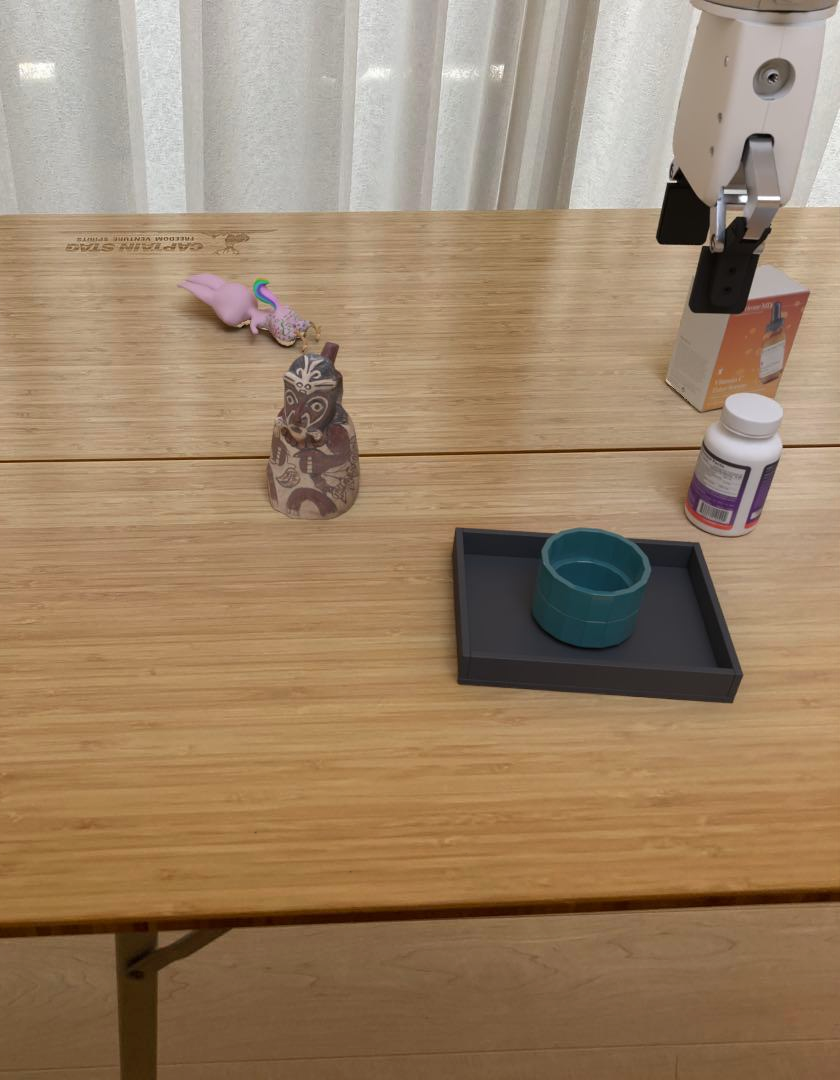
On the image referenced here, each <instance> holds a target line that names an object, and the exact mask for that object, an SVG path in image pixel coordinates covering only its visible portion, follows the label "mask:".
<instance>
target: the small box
mask: <svg viewBox="0 0 840 1080" xmlns="http://www.w3.org/2000/svg"><path fill="white" fill-rule="evenodd" d="M694 278H695V274H692V276H691V281H690V284H689V288H688V292H687V296H686V300H685V304H684V307H683V311H682V314H681V318H680V322H679V326H678V330H677V333H676V336H675V337H676V338H675V342H674V345H673V349H672V353H671V357H670V360H669V364H668V367H667V372H666V375H665V379H667V380H668V381H669V382H670V383H671V385H672V386H673V387H674V388H675V389H676V390H677V391H678V392H679V393H680V394H681V395H682V396H683V397H684V400H686V399H687V400H686V401H687V402H688V401H689V402H690V403H689V402H688V403H689V404H690V405H692V407H694V408H695V409H696V410H697V411H699V412H706V411H712V410H715V409H720V408H723V406H724V403H725V400H726V399H727V398H728V397H729V396H731V395H733V394H737V393H754V394H759V395H762V396H766V397H768V398H771V399H772V398H774V399H775V397H776V395H777V392H778V389H779V385H780V383H781V379H782V377H783V374H784V371H785V368H786V366H787V363H788V359H789V357H790V353H791V351H792V348H793V344H794V341H795V339H796V336H797V333H798V330H799V327H800V324H801V320H802V318H803V315H804V312H805V309H806V307H807V303H808V300H809V297H810V295H811V290H810V289H809V288H807V287H806V286H804V285H803V284H801V283H800V282H798V281H797V280H795V279H794V278H792V277H791V276H789V275H787V274H786V273H785V272H783V271H781V270H779V268H777V267H775V266H773V264H772V265H771V264H770V263H766V264H761V265H758V266H757V268H756V271H755V275H754V279H753V282H752V286H751V290H750V293H749V297H748V300H747V304H746V308H745V310H744V311H743V312H742V313H740V314H707V313H693V312H692V311H691V310H690V308H689V305H688V304H689V299H690V295H691V291H692V287H693V282H694ZM679 393H678V394H679ZM680 394H679V395H680ZM681 395H680V396H681ZM682 396H681V397H682ZM683 397H682V398H683ZM772 400H773V399H772Z"/></svg>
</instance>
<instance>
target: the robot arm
mask: <svg viewBox="0 0 840 1080" xmlns="http://www.w3.org/2000/svg"><path fill="white" fill-rule="evenodd" d="M839 1H840V0H689V3H690V4H691V6H692V7H693V8H695V9H696V10H698V11H701V13H700V16H699V19H698V23H697V24H696V30H695V35H694V39H693V42H692V45H691V49H690V53H689V57H688V62H687V66H686V70H685V73H684V77H683V78H684V79H683V82H682V86H681V91H680V92H681V93H680V95H679V100H678V106H677V110H676V116H675V120H674V126H673V127H674V128H673V135H672V153H673V158H672V161H671V163H670V165H669V170H668V179H669V182H666V186H665V191H664V195H663V200H662V204H661V210H660V214H659V218H658V223H657V228H656V233H655V240H656V241H657V243H658V244H659V245H661V246H698V247H699V246H701V249H700V252H699V257H698V262H697V266H696V271H695V274H694V275H695V278H694V282H693V287H692V291H691V295H690V299H689V304H688V305H689V308H690V310H691V311H692V312H693V313H707V314H740V313H742V312H743V311H744V310H745V308H746V304H747V300H748V297H749V293H750V290H751V286H752V282H753V279H754V275H755V271H756V268H757V267H758V264H759V260H760V257H761V255H762V254H763V252H764V250H765V247H766V240H767V239H768V236H769V235H770V234H771V232H772V230H773V229H772V227H771V226H772V222H773V220H774V218H775V216H776V215H777V213H778V211H779V209H782V208H783V207H785V206H786V205H788V203H789V202H790V201H791V198H792V195H793V192H794V189H795V184H796V181H797V177H798V176H797V175H798V172H799V168H800V164H801V161H802V160H801V159H802V157H803V156H802V155H803V151H804V147H805V142H806V139H807V134H808V130H809V126H810V121H811V117H812V112H813V108H814V103H815V98H816V93H817V89H818V82H819V77H820V72H821V66H822V59H823V54H824V53H823V51H824V44H825V36H826V25H827V22H826V21H825V20H828V19H830V18H832V17H833V16H834V15H835V14H836V11H837V8H838V4H839ZM725 190H728V191H730V190H731V191H732V190H733V191H734V190H736V191H746V193H725ZM727 211H730V212H733V211H734V212H743V215H742V216H741V215H740V216H738V215H737V216H735V218H734V219H733V220H732V221H731V222H730V223H729V224H728V226H727ZM708 235H709V240H708V242H709V243H708V244H709V245H704V244H705V243H706V242H707V239H708Z"/></svg>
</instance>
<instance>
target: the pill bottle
mask: <svg viewBox="0 0 840 1080" xmlns="http://www.w3.org/2000/svg"><path fill="white" fill-rule="evenodd" d="M784 411H785V410H784V408H783V406H781V404H780V403H779V402H777V401H775V400H774V399H770V398H768V397H766V396H762V395H759V394H754V393H737V394H733V395H731V396H729V397H728V398H727V399H726V400H725V403H724V406H723V407H722V409H721V413H720V416H719V419H717V420H715V421H713V422H712V423H710V425H708V427H707V428H706V430H705V433H704V436H703V439H702V441H701V446H700V449H699V453H698V456H697V459H696V460H697V461H696V463H695V468H694V471H693V474H692V478H691V481H690V484H689V488H688V491H687V495H686V499H685V503H684V513H685V516H686V517H687V518H688V520H689V521H690V522H691V523H692V524H693V525H694V526H695V527H697V528H699V529H700V530H703V531H704V532H707V533H709V534H712V535H715V536H721V537H739V536H740V537H741V536H744V535H746V534H749V533H751V532H752V531H753V530H754V529H756V527H757V525H758V524H759V520H760V518H761V516H762V513H763V510H764V506H765V503H766V500H767V497H768V495H769V491H770V489H771V486H772V483H773V480H774V477H775V474H776V471H777V468H778V466H779V462H780V459H781V457H782V452H783V440H782V438H781V436H780V435H779V433H778V432H779V430H780V428H781V424H782V420H783V417H784V413H785V412H784Z"/></svg>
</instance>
